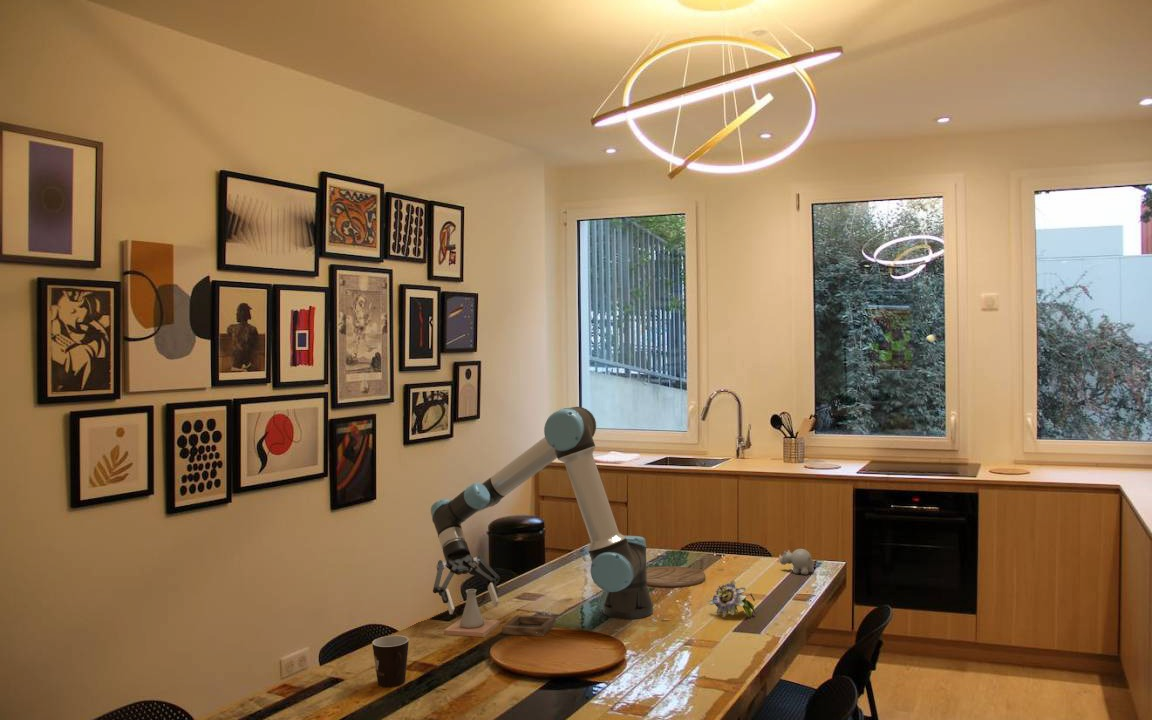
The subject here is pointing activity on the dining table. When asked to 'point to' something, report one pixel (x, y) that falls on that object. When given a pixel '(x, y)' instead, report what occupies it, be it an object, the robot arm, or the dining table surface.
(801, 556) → the chubby cartoon animal
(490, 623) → the terracotta coaster
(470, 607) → the flask
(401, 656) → the coffee mug
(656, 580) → the trivet
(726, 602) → the passion flower
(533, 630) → the walnut holder
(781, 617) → the dining table surface
